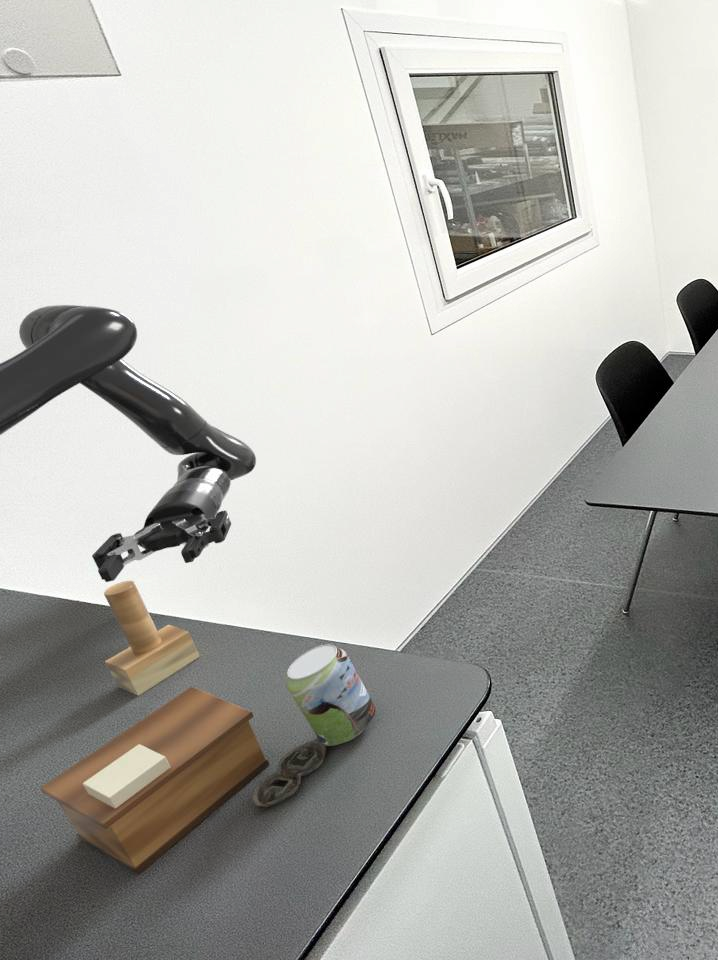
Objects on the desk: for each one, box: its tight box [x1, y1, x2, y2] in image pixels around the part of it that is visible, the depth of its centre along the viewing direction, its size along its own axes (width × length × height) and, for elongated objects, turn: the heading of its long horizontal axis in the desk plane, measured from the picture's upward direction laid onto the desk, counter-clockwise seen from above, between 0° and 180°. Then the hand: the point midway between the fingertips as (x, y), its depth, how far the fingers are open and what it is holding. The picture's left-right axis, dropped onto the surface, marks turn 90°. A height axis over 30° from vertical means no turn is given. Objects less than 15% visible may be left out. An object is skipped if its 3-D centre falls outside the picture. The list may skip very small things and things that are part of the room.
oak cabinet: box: [39, 686, 270, 876], centre depth 69 cm, size 11×13×8 cm
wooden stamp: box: [103, 580, 200, 697], centre depth 84 cm, size 4×7×15 cm, turn 161°
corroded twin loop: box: [252, 739, 327, 808], centre depth 72 cm, size 5×8×1 cm, turn 174°
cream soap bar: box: [83, 744, 171, 809], centre depth 64 cm, size 4×4×2 cm
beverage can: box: [286, 643, 376, 747], centre depth 76 cm, size 6×7×12 cm
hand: (147, 566), depth 89 cm, fingers open, 8 cm apart
